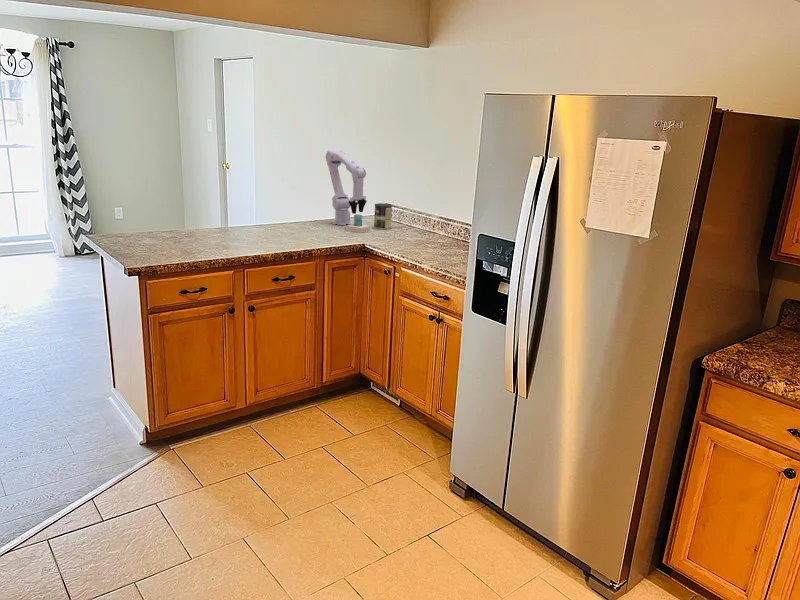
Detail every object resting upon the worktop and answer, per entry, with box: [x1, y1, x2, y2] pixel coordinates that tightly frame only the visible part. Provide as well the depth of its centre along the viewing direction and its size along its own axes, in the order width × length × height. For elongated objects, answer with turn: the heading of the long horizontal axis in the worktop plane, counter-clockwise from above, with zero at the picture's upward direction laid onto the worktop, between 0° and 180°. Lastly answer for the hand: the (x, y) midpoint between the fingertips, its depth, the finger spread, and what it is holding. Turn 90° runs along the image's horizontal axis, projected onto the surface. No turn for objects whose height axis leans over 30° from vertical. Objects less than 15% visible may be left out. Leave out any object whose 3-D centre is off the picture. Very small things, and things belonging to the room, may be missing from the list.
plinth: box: [345, 223, 371, 234], centre depth 352 cm, size 10×10×3 cm
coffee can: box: [373, 202, 393, 230], centre depth 363 cm, size 10×10×14 cm
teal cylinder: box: [353, 214, 363, 226], centre depth 351 cm, size 4×4×6 cm
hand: (357, 212), depth 356 cm, fingers open, 7 cm apart
